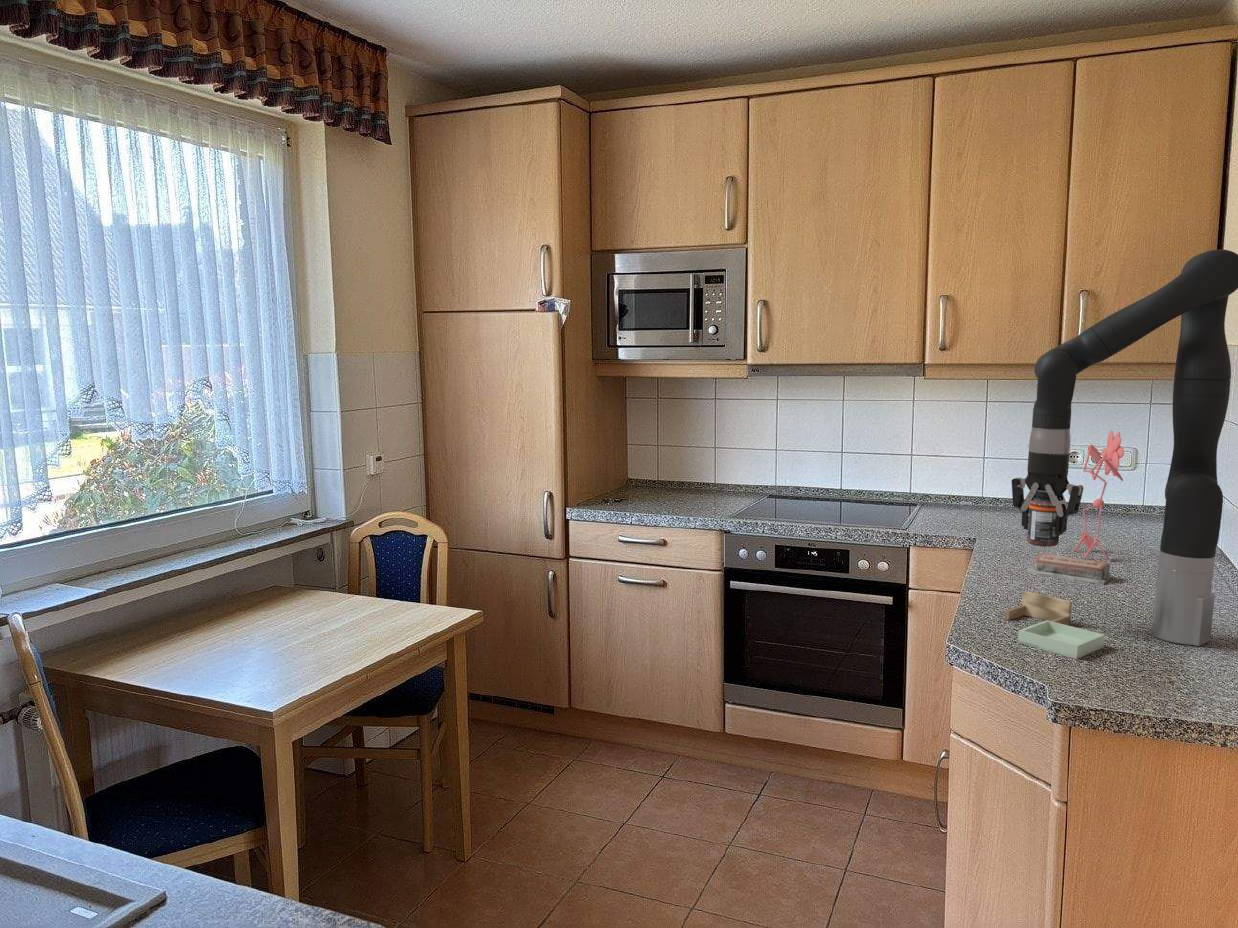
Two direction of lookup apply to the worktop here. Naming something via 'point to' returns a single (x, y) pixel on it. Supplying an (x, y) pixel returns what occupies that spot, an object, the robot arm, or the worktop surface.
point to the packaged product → (1071, 568)
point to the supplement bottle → (1042, 521)
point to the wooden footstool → (1042, 608)
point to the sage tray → (1061, 639)
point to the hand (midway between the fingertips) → (1043, 531)
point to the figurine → (1111, 464)
